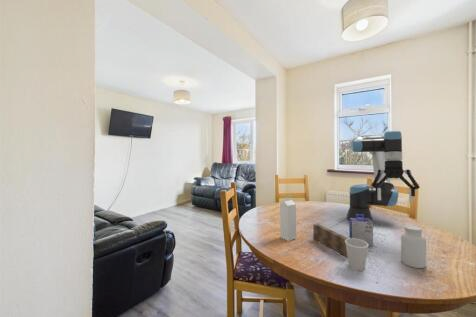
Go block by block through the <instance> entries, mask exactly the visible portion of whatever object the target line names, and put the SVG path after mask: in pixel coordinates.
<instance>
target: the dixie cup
mask: <svg viewBox="0 0 476 317" xmlns="http://www.w3.org/2000/svg"><path fill="white" fill-rule="evenodd" d="M345 243H346V250H347V257H348V258H347V263H348V264H347V265H348V267H349V268H350V269H352V270H354V271H359V272H360V271H361V272H362V271H365V270H366V263H367V262H366V261H367V255H368V248H369V245H368V243H367V242H365V241H363V240H360V239H354V238H350V239H346V240H345Z"/></svg>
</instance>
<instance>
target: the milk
mask: <svg viewBox="0 0 476 317" xmlns="http://www.w3.org/2000/svg"><path fill="white" fill-rule="evenodd" d="M279 211H280V212H279V216H280V218H279V219H280V220H279V222H280V226H279V227H280V231H279V232H280V239H282V238H283V239H282V240H284V239H285V241H286V240H287V241H286V242H290V240H291V241H293V239H294V240H297V205H296V203H295V202H294V200H293V197H286V198H283V201H282V202H280V203H279Z"/></svg>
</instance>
